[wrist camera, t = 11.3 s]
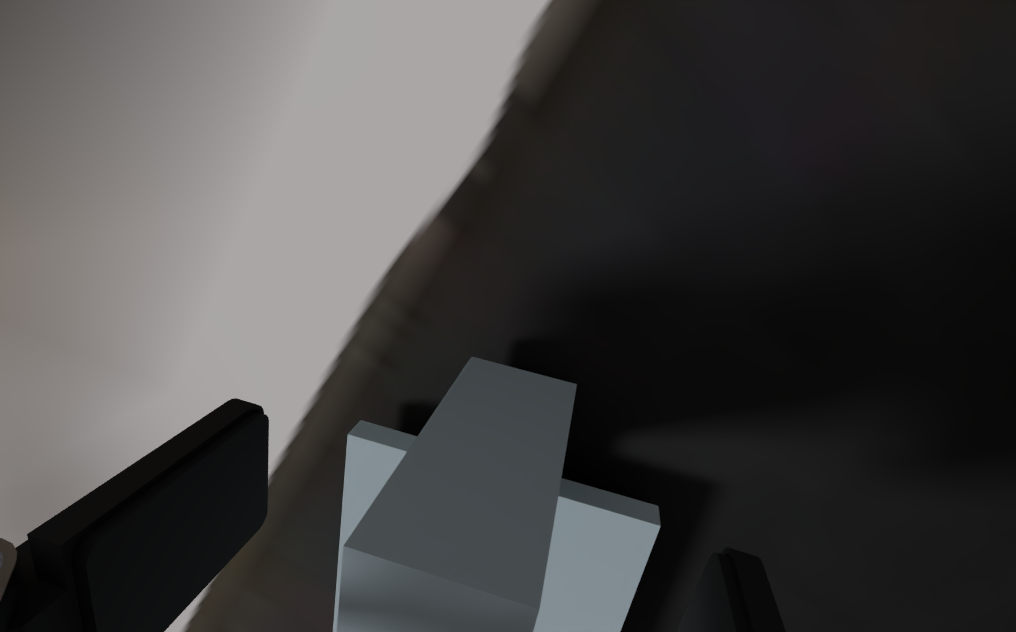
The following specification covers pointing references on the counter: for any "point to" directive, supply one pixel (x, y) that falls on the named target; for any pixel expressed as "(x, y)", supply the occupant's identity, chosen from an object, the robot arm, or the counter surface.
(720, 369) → the counter surface
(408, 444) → the lid
